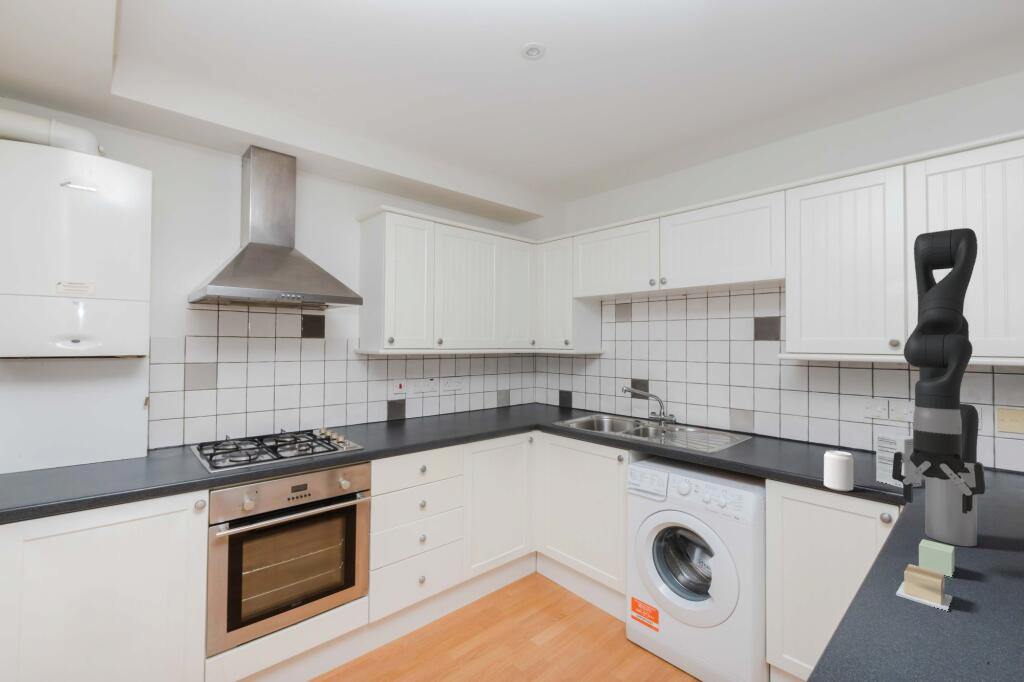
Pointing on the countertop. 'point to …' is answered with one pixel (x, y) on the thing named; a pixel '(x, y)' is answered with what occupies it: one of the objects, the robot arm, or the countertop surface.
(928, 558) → the sage block
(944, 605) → the white tile
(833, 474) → the beverage can
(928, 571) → the maple block
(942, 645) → the countertop surface
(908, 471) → the supplement box
